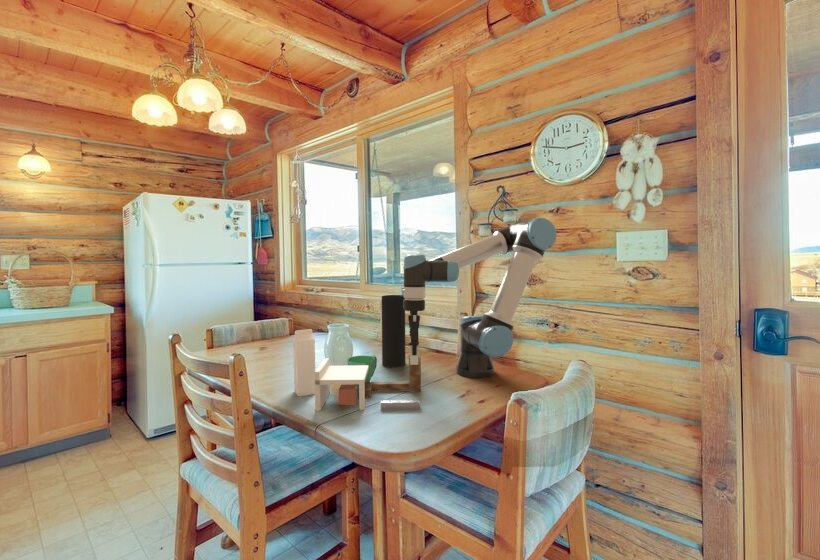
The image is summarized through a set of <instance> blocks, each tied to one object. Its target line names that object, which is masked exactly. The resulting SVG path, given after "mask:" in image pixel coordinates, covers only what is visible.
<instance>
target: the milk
mask: <svg viewBox="0 0 820 560" xmlns="http://www.w3.org/2000/svg"><path fill="white" fill-rule="evenodd" d="M292 343H293V344H292V346H293V347H292V349H293V386H294V387H293V389H294V390H293V391H294V393H295V394H296V396H297V397H303V396H310V395H315V374H314V372H315V370H316V340H315V336H314V335H313V329H312V328H308V329H297V330H295V331H294V336H293V338H292Z"/></svg>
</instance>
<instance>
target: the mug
mask: <svg viewBox="0 0 820 560" xmlns="http://www.w3.org/2000/svg"><path fill="white" fill-rule="evenodd" d="M377 361H378V359H377V356H376V355H375V354H370V355H353V356H351V357H348V358H347V366H352V365H369V370H368V373H367V376H366V380H365V382H371V379H372V378H373V376H374V373H375V371H376V368H377ZM356 389H359V384H356Z"/></svg>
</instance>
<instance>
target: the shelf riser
mask: <svg viewBox="0 0 820 560" xmlns="http://www.w3.org/2000/svg"><path fill="white" fill-rule="evenodd" d="M368 370H369V365H352V366H348V365H330V358H329V357H328V358H324V359H323V360H322V361H321V363H320V364H319V365H318V367H317V368H315V372H314V374H315V394H314V408H315V409H314V410H315V411H321V409H322V408H323V406H324V404H325V403H326V400H327V399H328V397H329V395H330V392H331V388H330V387H331V386H332V385H345V384H359V388H358V396H359V398H358V401H359V404H358V405H359V408H358V409H359V411H364V410H365V408H366V401H365V400H366V399H365V398H366V397H365V380H366V376H367V373H368Z"/></svg>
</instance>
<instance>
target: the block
mask: <svg viewBox="0 0 820 560" xmlns="http://www.w3.org/2000/svg"><path fill="white" fill-rule="evenodd" d="M357 391H358V388H356V384H340V386H339V387H338V406H339V405H340V406H344V405H345V406H352V405H353V406H355V405H356V401H357V397H358V396H357V394H358V392H357Z"/></svg>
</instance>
